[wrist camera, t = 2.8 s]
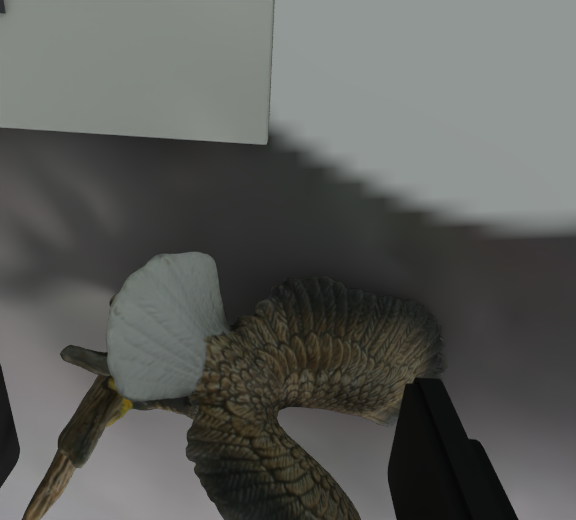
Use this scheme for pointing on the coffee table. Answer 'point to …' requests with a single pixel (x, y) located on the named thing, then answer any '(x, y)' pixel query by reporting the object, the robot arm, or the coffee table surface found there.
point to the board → (138, 67)
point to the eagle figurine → (246, 380)
